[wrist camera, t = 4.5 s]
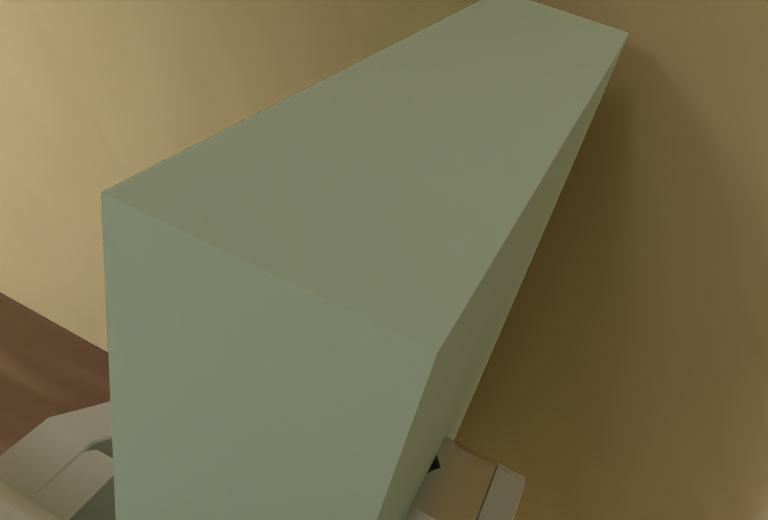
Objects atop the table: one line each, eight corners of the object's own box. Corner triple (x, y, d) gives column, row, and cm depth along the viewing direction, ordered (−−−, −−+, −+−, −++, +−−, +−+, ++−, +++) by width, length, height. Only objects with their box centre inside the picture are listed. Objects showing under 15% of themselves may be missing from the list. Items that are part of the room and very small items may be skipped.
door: (500, -10, 12) (100, 191, 4) (696, 55, 11) (636, 448, 4) (365, 432, 20) (128, 800, 12) (478, 491, 19) (302, 930, 11)
